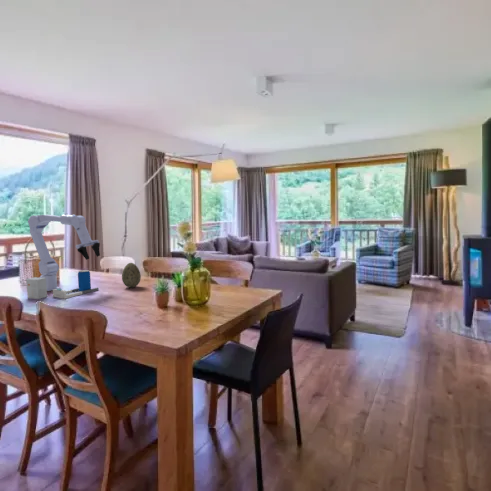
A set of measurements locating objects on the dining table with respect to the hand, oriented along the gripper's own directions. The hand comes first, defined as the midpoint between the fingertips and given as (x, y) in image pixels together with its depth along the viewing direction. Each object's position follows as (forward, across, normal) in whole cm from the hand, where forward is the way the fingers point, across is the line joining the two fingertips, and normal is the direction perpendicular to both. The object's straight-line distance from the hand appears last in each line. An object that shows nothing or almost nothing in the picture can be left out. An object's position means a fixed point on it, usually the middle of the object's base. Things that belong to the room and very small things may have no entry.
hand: (93, 257), depth 210 cm
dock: (+15, -10, +11) cm, 22 cm away
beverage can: (+16, -5, +12) cm, 21 cm away
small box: (+10, -26, +21) cm, 35 cm away
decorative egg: (+24, +14, -4) cm, 29 cm away
